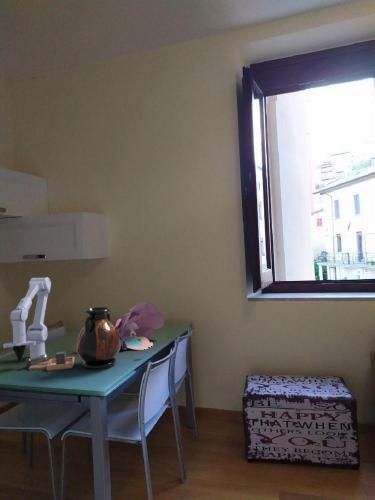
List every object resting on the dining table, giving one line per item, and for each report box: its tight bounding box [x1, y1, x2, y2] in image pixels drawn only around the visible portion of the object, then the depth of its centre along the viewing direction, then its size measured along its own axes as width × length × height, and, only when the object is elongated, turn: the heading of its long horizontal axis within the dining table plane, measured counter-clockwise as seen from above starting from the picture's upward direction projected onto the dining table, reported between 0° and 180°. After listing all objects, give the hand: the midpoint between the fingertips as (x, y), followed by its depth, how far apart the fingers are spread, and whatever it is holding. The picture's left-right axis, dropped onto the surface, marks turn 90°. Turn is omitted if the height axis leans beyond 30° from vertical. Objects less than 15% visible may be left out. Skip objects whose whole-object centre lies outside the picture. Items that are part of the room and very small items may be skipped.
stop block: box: [55, 350, 66, 365], centre depth 174 cm, size 4×4×6 cm
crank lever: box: [24, 355, 48, 367], centre depth 177 cm, size 12×4×4 cm, turn 152°
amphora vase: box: [76, 306, 121, 371], centre depth 173 cm, size 22×22×28 cm
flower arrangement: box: [115, 301, 165, 351], centre depth 206 cm, size 35×24×28 cm
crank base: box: [27, 359, 50, 372], centre depth 175 cm, size 12×8×1 cm, turn 12°
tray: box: [45, 356, 75, 372], centre depth 174 cm, size 12×12×2 cm
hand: (20, 360), depth 174 cm, fingers closed
